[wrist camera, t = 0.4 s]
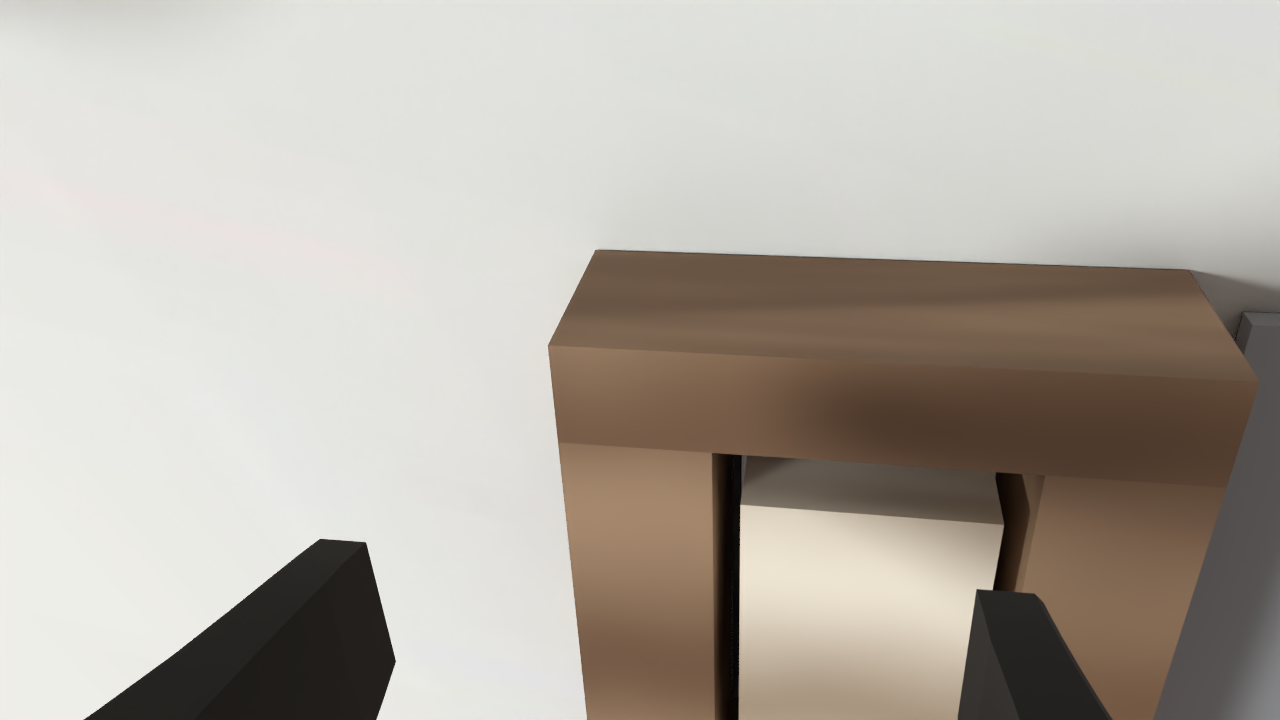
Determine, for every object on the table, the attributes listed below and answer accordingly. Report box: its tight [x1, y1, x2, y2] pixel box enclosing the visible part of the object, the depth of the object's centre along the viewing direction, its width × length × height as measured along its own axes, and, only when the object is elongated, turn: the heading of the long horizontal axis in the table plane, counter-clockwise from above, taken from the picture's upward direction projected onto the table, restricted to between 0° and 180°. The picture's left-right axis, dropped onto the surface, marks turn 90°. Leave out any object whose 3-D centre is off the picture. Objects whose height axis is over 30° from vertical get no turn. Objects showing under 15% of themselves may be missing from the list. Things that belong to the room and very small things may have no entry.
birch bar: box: [739, 455, 1004, 720], centre depth 21 cm, size 9×4×2 cm, turn 3°
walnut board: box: [548, 250, 1260, 720], centre depth 22 cm, size 15×11×4 cm
